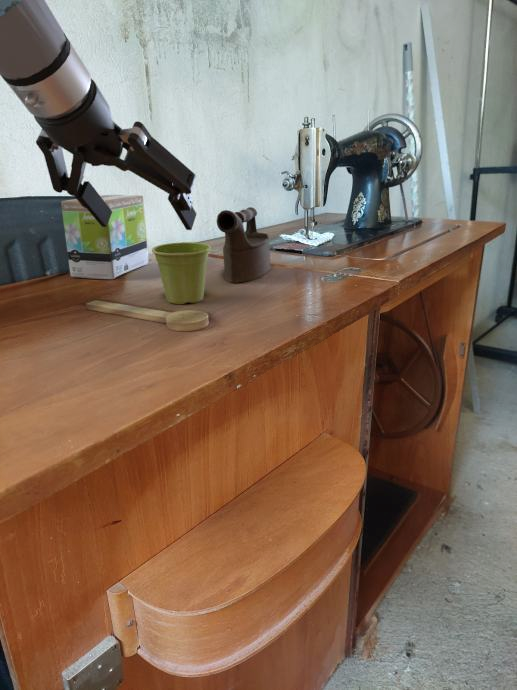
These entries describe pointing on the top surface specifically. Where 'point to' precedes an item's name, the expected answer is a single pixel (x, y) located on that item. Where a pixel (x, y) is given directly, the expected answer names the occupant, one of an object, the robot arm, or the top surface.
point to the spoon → (155, 315)
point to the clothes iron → (243, 246)
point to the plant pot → (182, 270)
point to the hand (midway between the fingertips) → (148, 220)
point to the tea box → (106, 238)
